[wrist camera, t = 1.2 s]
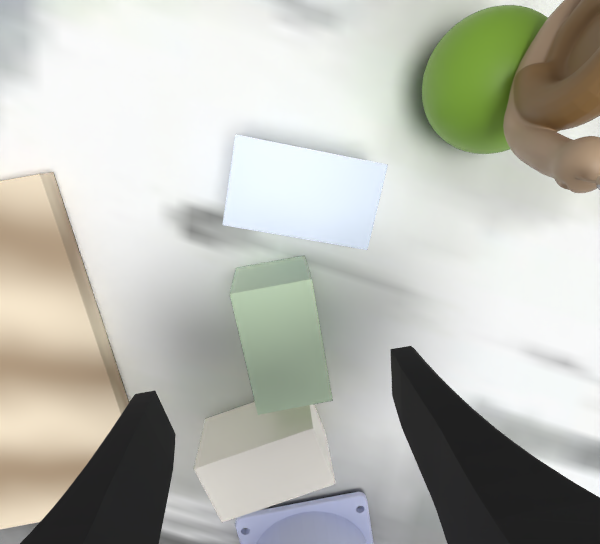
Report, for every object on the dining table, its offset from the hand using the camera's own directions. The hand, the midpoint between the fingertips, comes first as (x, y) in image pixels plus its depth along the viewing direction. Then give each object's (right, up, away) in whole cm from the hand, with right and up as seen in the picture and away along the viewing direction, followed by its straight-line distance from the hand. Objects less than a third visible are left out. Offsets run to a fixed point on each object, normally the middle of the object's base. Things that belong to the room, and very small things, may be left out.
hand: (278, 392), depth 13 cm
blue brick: (+1, +8, +8) cm, 11 cm away
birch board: (-15, -1, +9) cm, 18 cm away
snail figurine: (+8, +12, +7) cm, 16 cm away
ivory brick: (-1, -5, +11) cm, 13 cm away
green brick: (0, +1, +10) cm, 10 cm away
